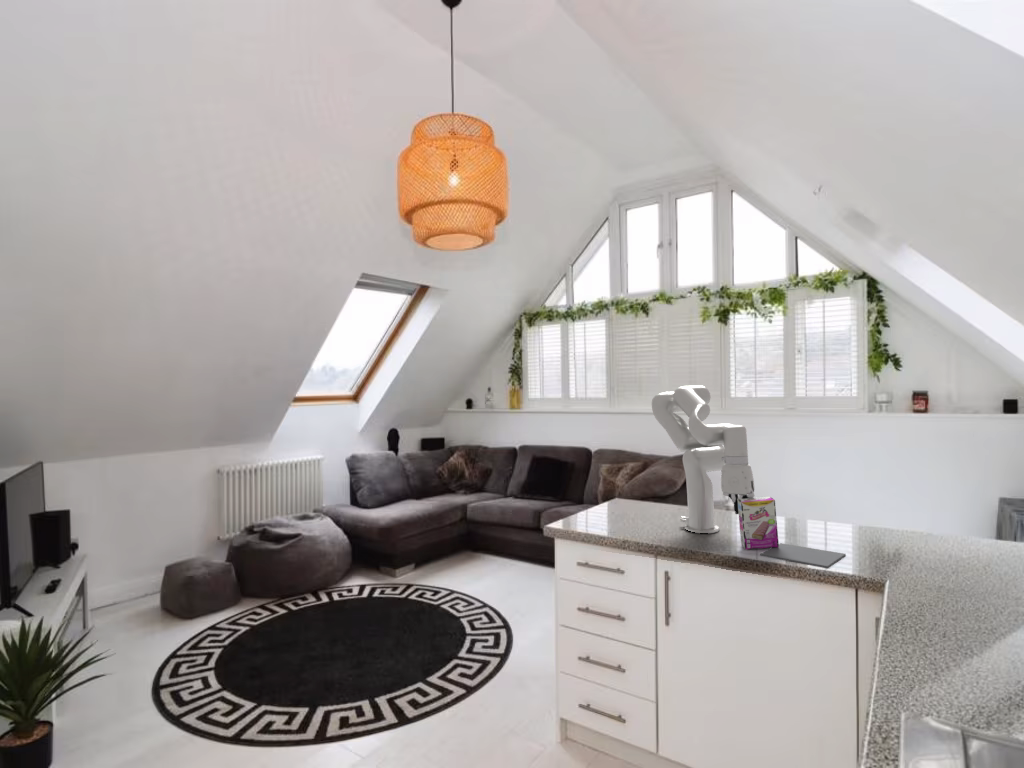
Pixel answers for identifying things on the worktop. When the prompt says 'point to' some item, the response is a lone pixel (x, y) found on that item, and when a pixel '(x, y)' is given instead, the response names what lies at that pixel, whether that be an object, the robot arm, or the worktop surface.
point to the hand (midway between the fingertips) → (739, 513)
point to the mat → (804, 555)
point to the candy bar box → (758, 523)
